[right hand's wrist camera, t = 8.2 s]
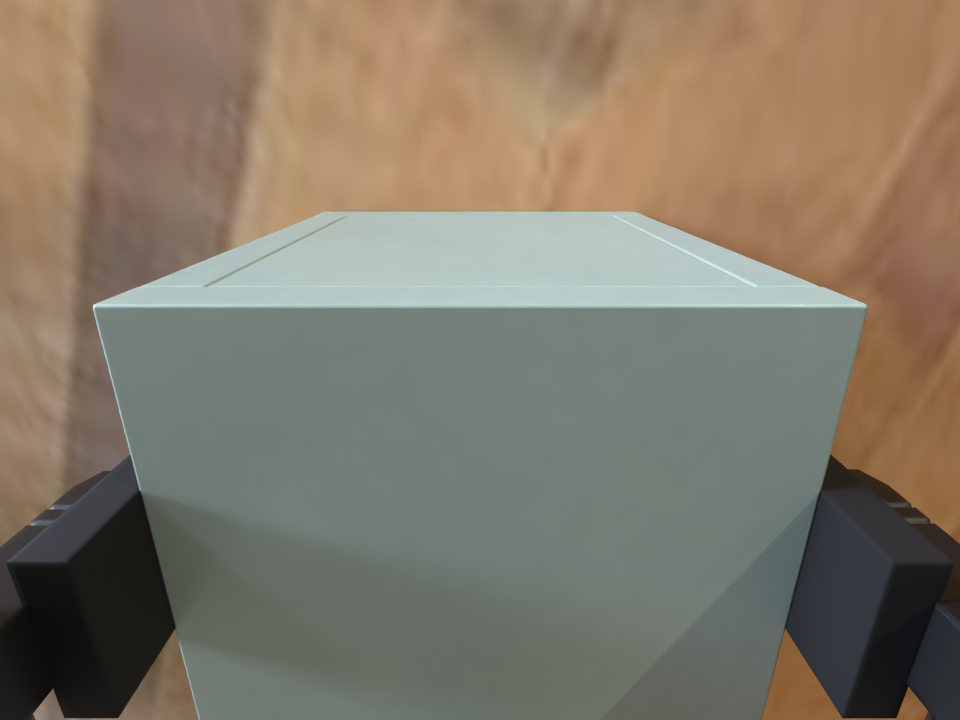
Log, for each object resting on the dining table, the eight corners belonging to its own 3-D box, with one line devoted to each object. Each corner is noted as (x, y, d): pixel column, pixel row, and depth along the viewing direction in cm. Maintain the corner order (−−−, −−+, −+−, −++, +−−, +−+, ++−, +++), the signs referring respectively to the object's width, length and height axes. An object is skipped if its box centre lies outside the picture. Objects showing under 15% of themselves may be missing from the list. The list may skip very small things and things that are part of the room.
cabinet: (597, 611, 24) (692, 989, 13) (363, 611, 24) (267, 989, 13) (636, 211, 18) (870, 303, 7) (323, 211, 18) (89, 304, 7)
